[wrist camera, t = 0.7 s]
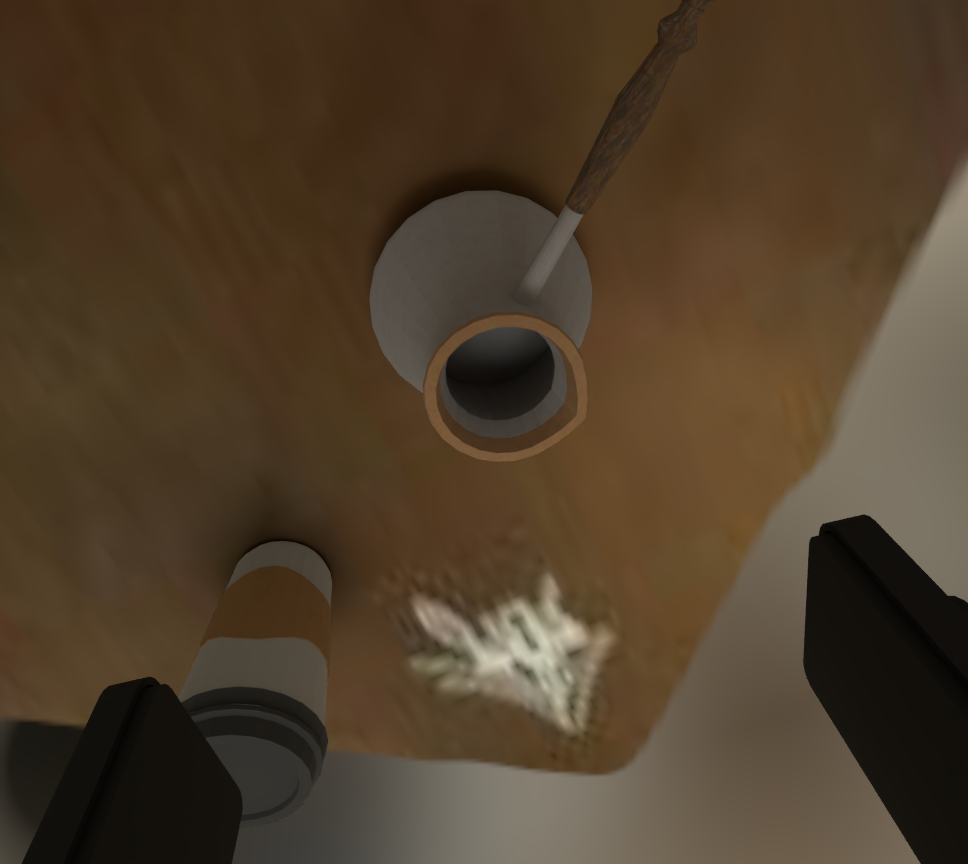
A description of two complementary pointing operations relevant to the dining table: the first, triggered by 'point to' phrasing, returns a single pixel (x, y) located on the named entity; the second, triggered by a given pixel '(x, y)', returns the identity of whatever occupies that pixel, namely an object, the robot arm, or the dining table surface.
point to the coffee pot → (509, 290)
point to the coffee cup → (267, 678)
